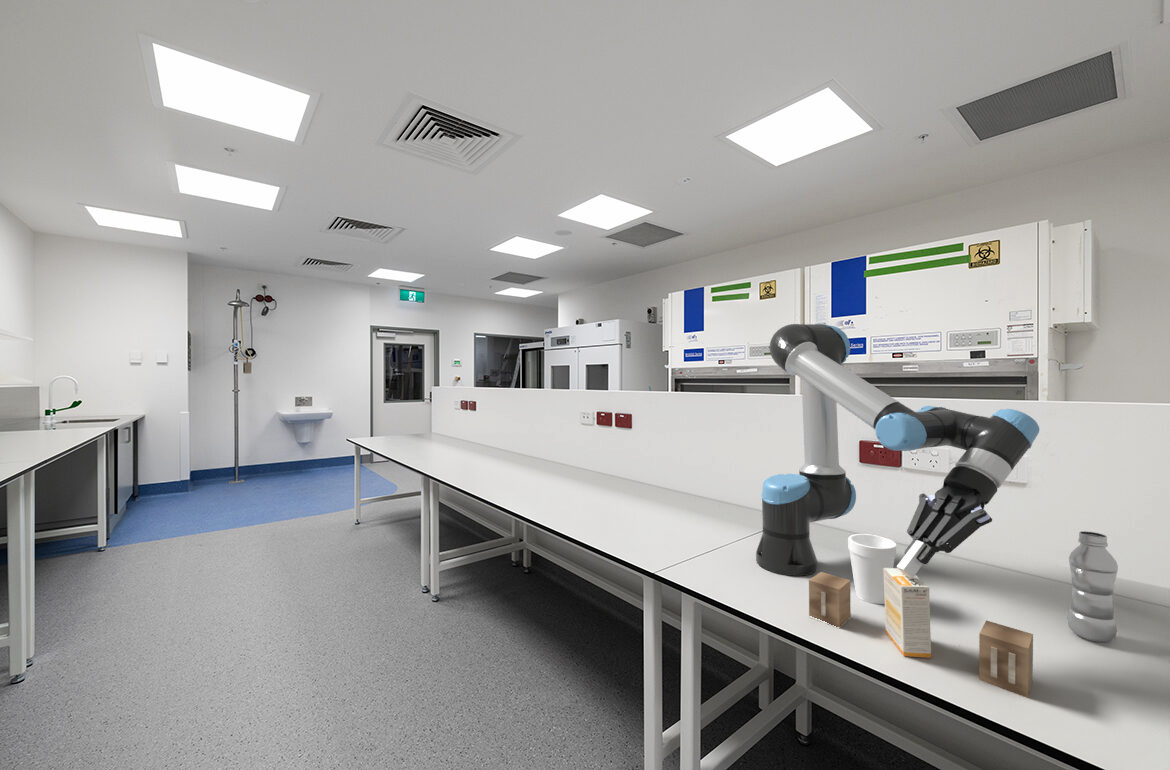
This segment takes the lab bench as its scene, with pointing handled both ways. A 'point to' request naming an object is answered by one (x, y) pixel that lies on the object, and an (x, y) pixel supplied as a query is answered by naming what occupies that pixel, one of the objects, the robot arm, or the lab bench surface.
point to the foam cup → (870, 565)
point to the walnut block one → (829, 599)
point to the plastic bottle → (1092, 589)
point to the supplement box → (907, 613)
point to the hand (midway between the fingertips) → (904, 572)
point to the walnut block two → (1006, 658)
